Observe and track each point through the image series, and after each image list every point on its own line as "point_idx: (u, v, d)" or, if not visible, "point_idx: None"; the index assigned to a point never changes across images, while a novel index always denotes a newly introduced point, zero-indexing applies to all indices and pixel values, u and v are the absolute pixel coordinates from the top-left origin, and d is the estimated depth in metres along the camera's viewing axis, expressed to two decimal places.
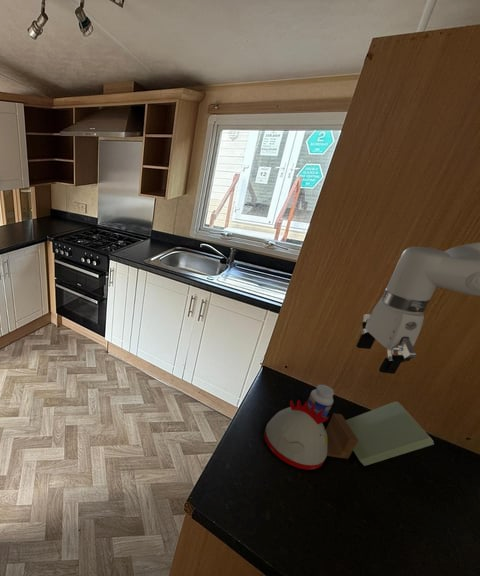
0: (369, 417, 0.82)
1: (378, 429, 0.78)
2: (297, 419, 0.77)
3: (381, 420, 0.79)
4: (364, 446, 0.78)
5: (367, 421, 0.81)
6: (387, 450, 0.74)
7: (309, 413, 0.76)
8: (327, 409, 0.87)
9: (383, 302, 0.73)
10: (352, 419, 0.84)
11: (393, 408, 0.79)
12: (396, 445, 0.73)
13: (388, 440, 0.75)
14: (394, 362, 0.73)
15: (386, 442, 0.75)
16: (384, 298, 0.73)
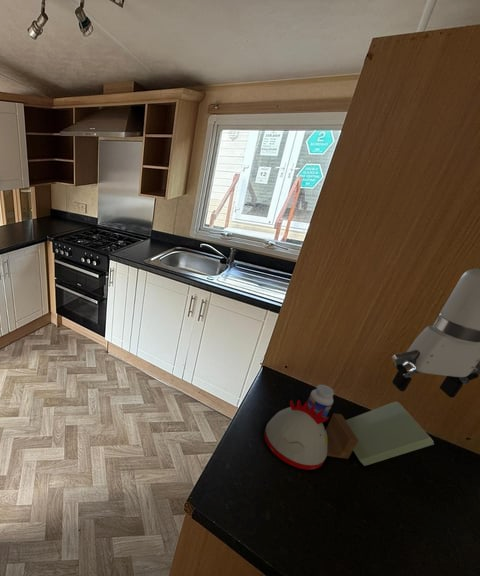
0: (369, 417, 0.82)
1: (378, 429, 0.78)
2: (297, 419, 0.77)
3: (381, 420, 0.79)
4: (364, 446, 0.78)
5: (367, 421, 0.81)
6: (387, 450, 0.74)
7: (309, 413, 0.76)
8: (327, 409, 0.87)
9: (474, 342, 0.61)
10: (352, 419, 0.84)
11: (393, 408, 0.79)
12: (396, 445, 0.73)
13: (388, 440, 0.75)
14: None
15: (386, 442, 0.75)
16: (474, 338, 0.61)
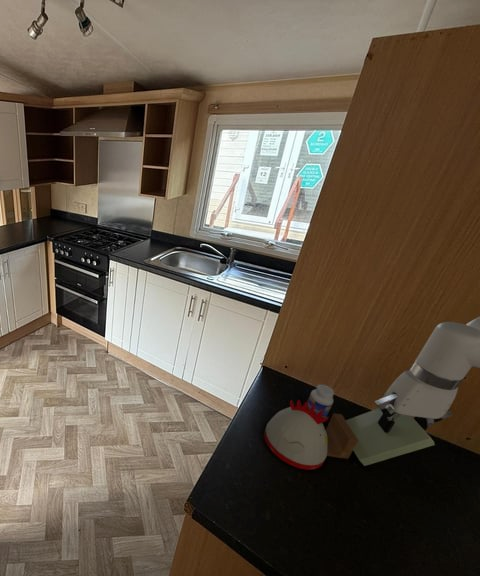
0: (370, 417, 0.82)
1: (378, 429, 0.78)
2: (297, 419, 0.77)
3: None
4: (364, 446, 0.78)
5: (368, 421, 0.81)
6: (388, 450, 0.74)
7: (309, 413, 0.76)
8: (327, 409, 0.87)
9: (445, 390, 0.66)
10: (352, 419, 0.84)
11: None
12: (396, 445, 0.73)
13: (388, 440, 0.75)
14: None
15: (387, 442, 0.75)
16: (446, 386, 0.66)
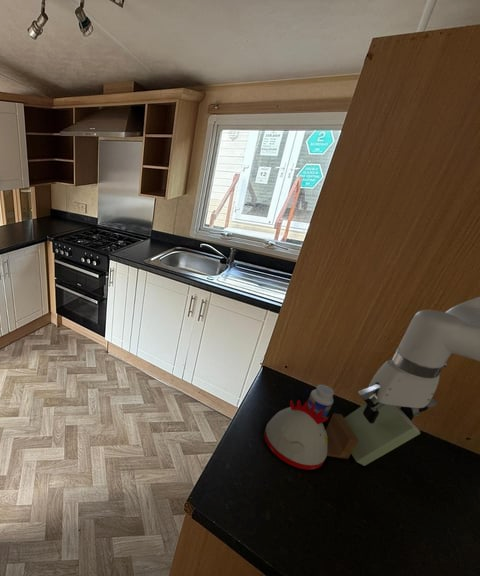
0: (360, 413, 0.82)
1: (369, 425, 0.78)
2: (297, 419, 0.77)
3: None
4: (359, 446, 0.78)
5: (359, 418, 0.81)
6: (378, 447, 0.74)
7: (309, 413, 0.76)
8: (327, 409, 0.87)
9: (426, 378, 0.66)
10: (346, 418, 0.84)
11: None
12: (385, 440, 0.73)
13: (378, 436, 0.75)
14: None
15: (377, 438, 0.75)
16: (426, 374, 0.66)
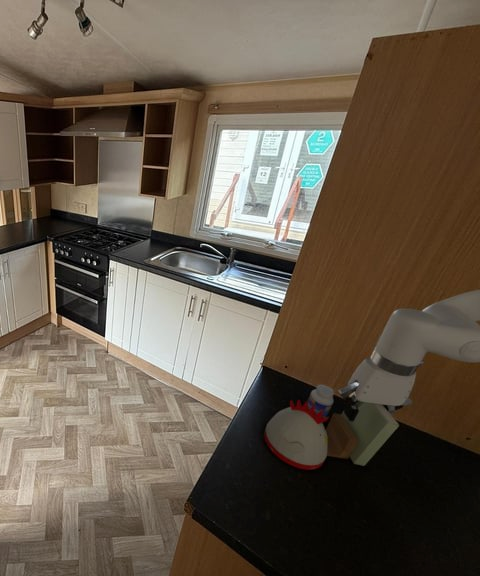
0: None
1: (357, 424, 0.79)
2: (297, 419, 0.77)
3: None
4: None
5: None
6: (367, 446, 0.74)
7: (309, 413, 0.76)
8: (327, 409, 0.87)
9: (402, 376, 0.67)
10: None
11: None
12: (371, 438, 0.74)
13: (365, 434, 0.76)
14: None
15: (364, 436, 0.76)
16: (402, 372, 0.66)
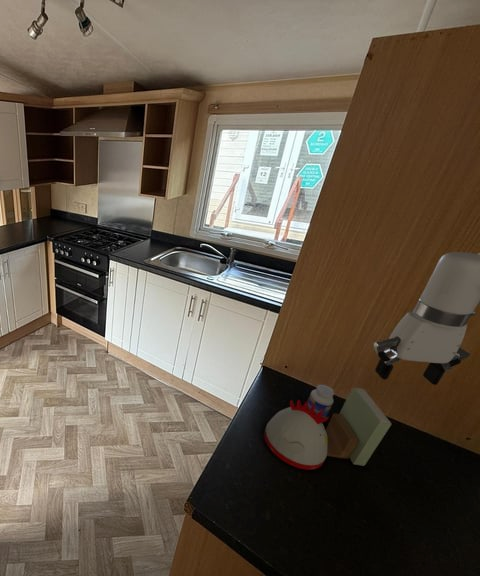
0: (345, 412, 0.82)
1: (353, 424, 0.79)
2: (297, 419, 0.77)
3: (351, 413, 0.80)
4: None
5: (345, 417, 0.82)
6: (363, 446, 0.75)
7: (309, 413, 0.76)
8: (327, 409, 0.87)
9: (453, 326, 0.60)
10: None
11: (353, 397, 0.80)
12: (366, 438, 0.74)
13: (361, 434, 0.76)
14: None
15: (360, 436, 0.76)
16: (453, 322, 0.60)
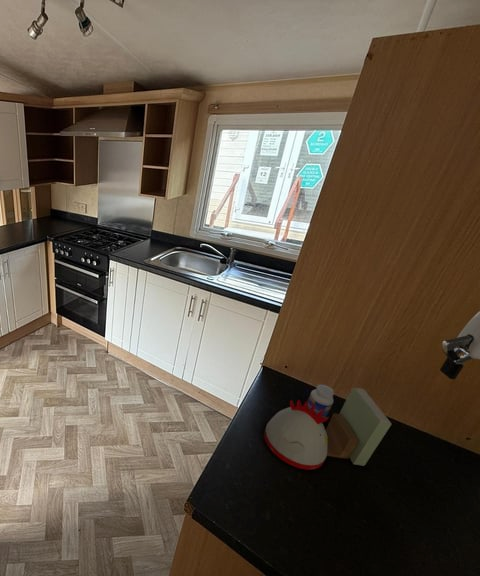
0: (345, 412, 0.82)
1: (353, 424, 0.79)
2: (297, 419, 0.77)
3: (351, 413, 0.80)
4: None
5: (345, 417, 0.82)
6: (363, 446, 0.75)
7: (309, 413, 0.76)
8: (327, 409, 0.87)
9: None
10: None
11: (353, 397, 0.80)
12: (366, 438, 0.74)
13: (361, 434, 0.76)
14: None
15: (360, 436, 0.76)
16: None
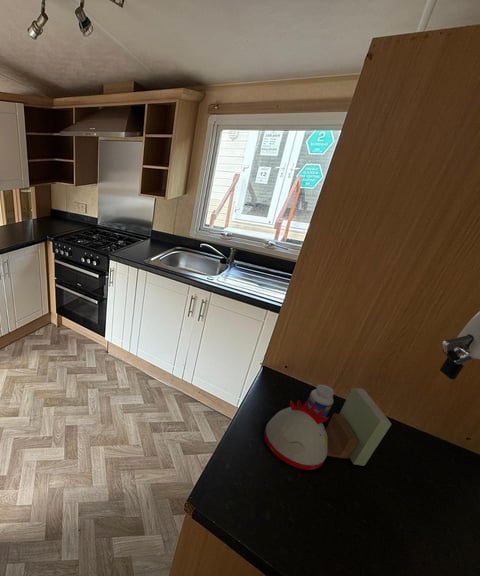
0: (345, 412, 0.82)
1: (353, 424, 0.79)
2: (297, 419, 0.77)
3: (351, 413, 0.80)
4: None
5: (345, 417, 0.82)
6: (363, 446, 0.75)
7: (309, 413, 0.76)
8: (327, 409, 0.87)
9: None
10: None
11: (353, 397, 0.80)
12: (366, 438, 0.74)
13: (361, 434, 0.76)
14: None
15: (360, 436, 0.76)
16: None
